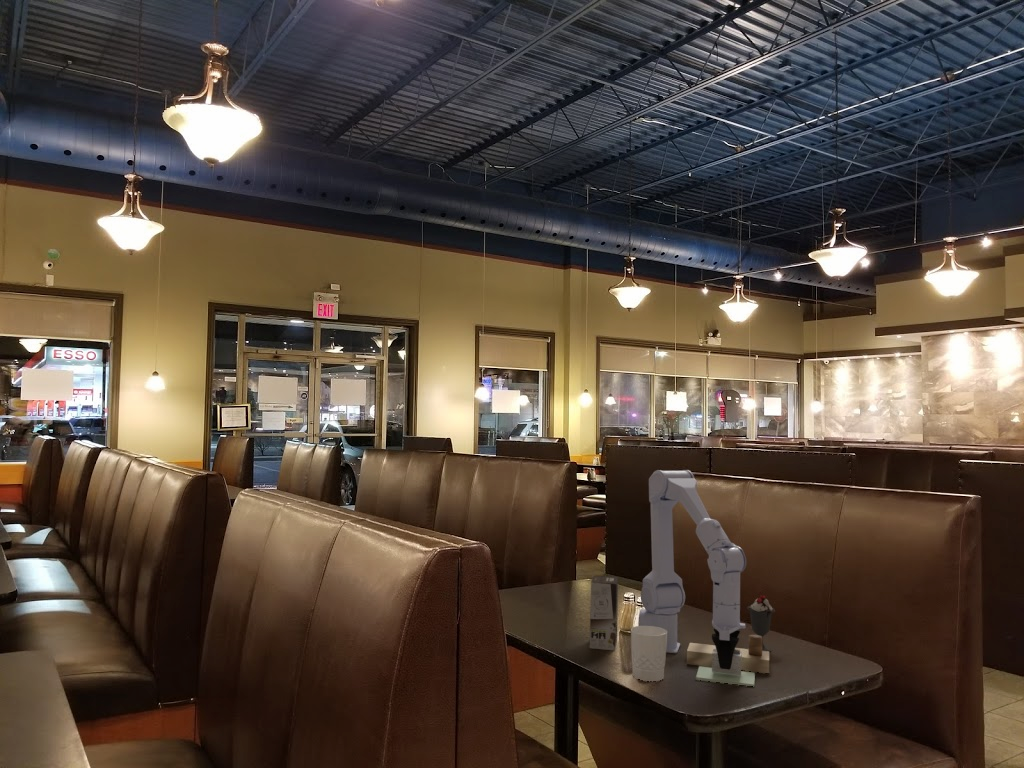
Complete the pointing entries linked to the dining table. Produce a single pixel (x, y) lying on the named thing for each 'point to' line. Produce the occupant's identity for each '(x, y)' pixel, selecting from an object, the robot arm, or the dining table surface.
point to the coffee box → (604, 613)
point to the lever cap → (735, 665)
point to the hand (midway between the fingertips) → (725, 665)
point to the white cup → (648, 652)
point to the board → (725, 677)
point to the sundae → (761, 617)
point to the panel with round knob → (751, 657)
